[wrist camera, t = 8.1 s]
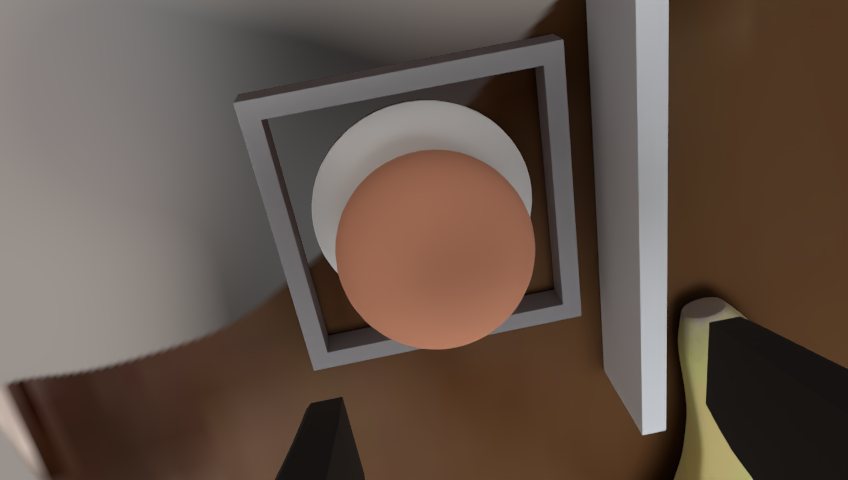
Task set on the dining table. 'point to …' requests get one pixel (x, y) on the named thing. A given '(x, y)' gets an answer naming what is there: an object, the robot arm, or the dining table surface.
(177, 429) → the dining table surface
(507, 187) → the ball
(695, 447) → the banana
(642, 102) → the acrylic wall
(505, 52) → the grey square frame
